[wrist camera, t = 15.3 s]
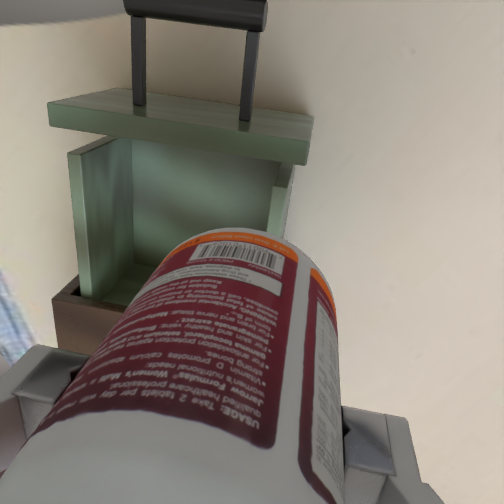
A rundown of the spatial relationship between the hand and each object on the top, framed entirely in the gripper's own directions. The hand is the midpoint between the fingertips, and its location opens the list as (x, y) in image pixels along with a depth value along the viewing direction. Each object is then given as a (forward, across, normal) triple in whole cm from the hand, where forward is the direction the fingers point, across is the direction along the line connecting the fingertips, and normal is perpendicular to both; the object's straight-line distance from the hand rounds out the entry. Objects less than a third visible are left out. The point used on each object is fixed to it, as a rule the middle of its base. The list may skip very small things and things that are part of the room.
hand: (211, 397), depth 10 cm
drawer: (+21, +5, 0) cm, 21 cm away
